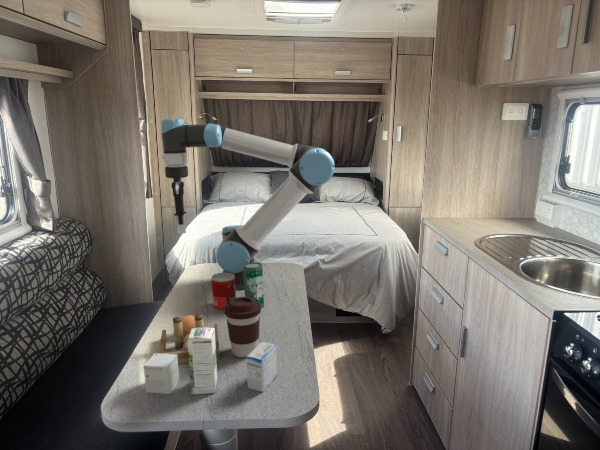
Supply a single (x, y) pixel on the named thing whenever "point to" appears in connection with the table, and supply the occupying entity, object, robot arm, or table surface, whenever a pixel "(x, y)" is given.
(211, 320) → the table surface
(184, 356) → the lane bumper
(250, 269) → the can
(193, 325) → the ball
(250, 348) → the coffee cup
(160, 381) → the product box
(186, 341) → the front pin
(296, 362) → the table surface
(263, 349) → the medicine box
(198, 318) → the rear pin
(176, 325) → the rear pin
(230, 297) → the canned food
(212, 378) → the syrup box
